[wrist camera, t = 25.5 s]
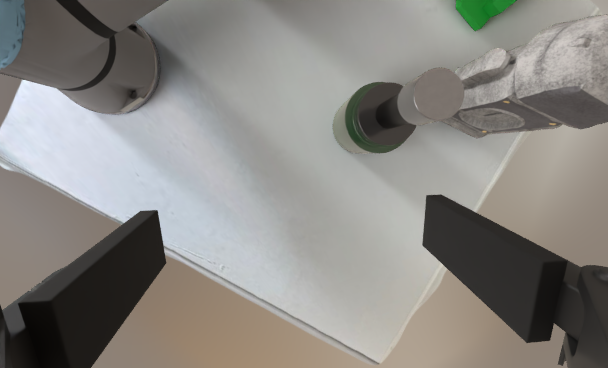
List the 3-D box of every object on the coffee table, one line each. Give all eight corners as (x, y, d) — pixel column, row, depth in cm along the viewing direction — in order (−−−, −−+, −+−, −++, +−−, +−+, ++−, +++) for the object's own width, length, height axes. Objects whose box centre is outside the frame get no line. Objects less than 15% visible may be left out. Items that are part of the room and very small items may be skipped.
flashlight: (370, 131, 34) (411, 119, 22) (373, 96, 33) (416, 65, 22) (404, 133, 34) (461, 122, 23) (407, 98, 34) (467, 69, 22)
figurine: (491, 146, 49) (694, 138, 25) (418, 112, 48) (553, 67, 23) (517, 93, 49) (753, 30, 24) (443, 57, 48) (610, -50, 23)
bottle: (330, 151, 48) (347, 150, 34) (334, 96, 47) (353, 71, 33) (383, 155, 49) (422, 155, 34) (388, 100, 48) (430, 77, 33)
